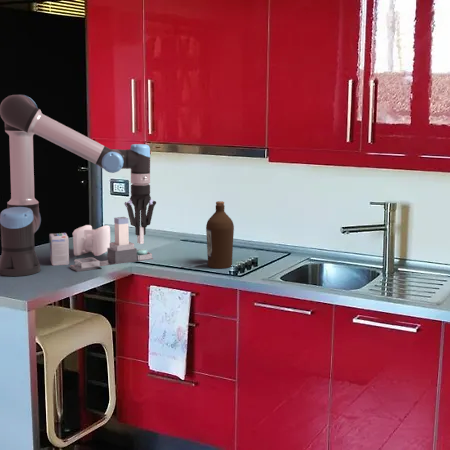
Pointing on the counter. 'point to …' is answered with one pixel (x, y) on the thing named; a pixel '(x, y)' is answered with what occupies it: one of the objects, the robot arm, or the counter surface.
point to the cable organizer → (91, 240)
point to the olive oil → (220, 238)
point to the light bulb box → (59, 249)
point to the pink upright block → (121, 231)
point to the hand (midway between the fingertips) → (140, 243)
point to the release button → (141, 251)
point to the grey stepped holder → (111, 257)
